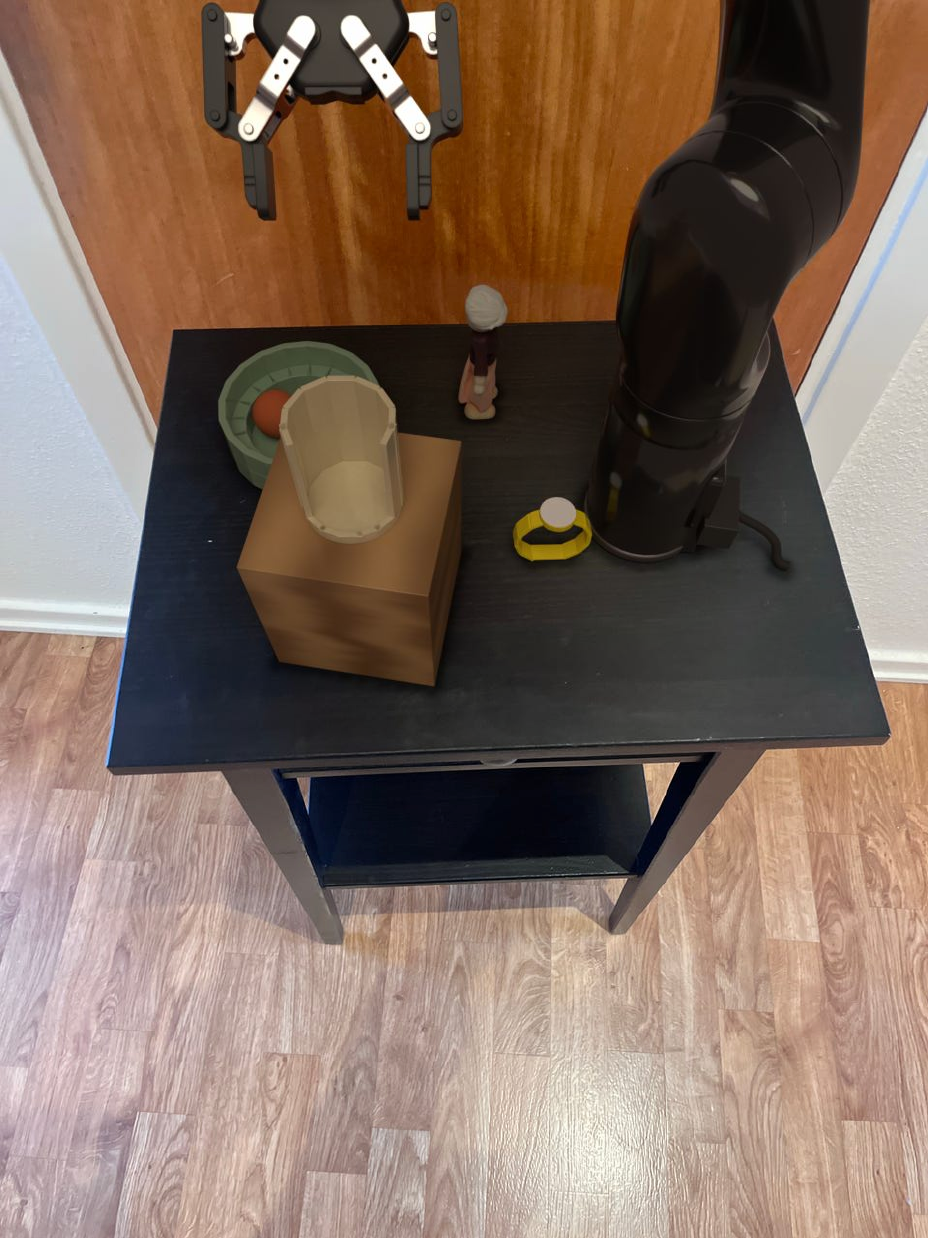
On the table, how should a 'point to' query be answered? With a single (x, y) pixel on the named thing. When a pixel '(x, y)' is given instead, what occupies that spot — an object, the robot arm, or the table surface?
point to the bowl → (269, 372)
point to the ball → (270, 411)
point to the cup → (344, 457)
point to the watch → (558, 519)
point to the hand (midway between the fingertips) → (341, 218)
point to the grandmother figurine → (482, 351)
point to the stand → (361, 573)
